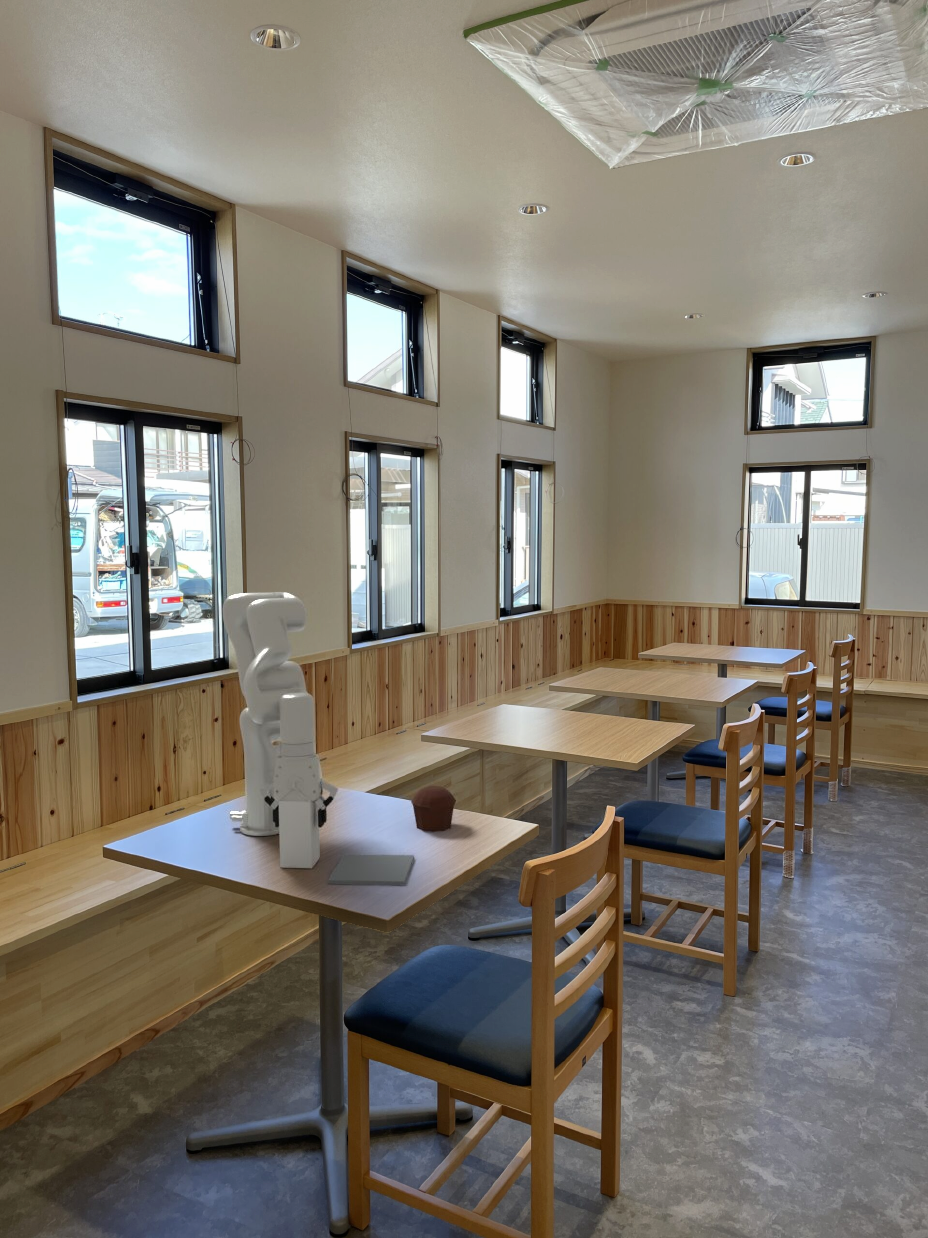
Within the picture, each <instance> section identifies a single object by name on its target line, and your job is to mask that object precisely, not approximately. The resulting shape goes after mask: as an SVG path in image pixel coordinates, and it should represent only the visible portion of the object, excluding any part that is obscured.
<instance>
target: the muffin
mask: <svg viewBox="0 0 928 1238" xmlns="http://www.w3.org/2000/svg"><path fill="white" fill-rule="evenodd" d="M410 802H411V805H412V806H413V813H414V818H415V825H416V829H417V830H420V831H422V832H430V833H436V832H437V833H438V832H445V831H447V830H450V829H451V828H452V821H453V815H454V814H453V813H454V806H455V805H456V803H457V799H456V798H455V796H454V795H453V794H452V793H451V792H450V791H449V790H448V789H447V788H445V787H444V786H441V785H427V786H425V787H423V788H421V789H419V790H418V791H417V792H416V794H415V795H414V797H413V798H412V799H411V801H410Z"/></svg>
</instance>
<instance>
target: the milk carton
mask: <svg viewBox="0 0 928 1238" xmlns="http://www.w3.org/2000/svg"><path fill="white" fill-rule="evenodd" d="M293 789H296V788H295V783H294V788H293ZM293 789H292V790H293ZM292 790H291V791H292ZM296 790H297V791H298V789H296ZM291 791H290V792H291ZM298 792H299V793H300V794H301V795H302V796H304V795H303V794H302V793H301V792H300V791H298ZM286 795H287V794H286ZM286 795H285V796H286ZM285 796H284V797H285ZM284 797H283V798H284ZM304 797H305V798H306V799H307V800H280V801H279V835H278V836H279V867H280V868H284V869H285V868H287V869H289V868H291V869H312V868H314V866H315V865H316V863H317V862H318V861H319V859H320V857H321V855H320V854H321V851H320V850H321V849H320V848H321V847H320V845H321V844H320V842H321V841H320V828H319V827H318V810H319V806H318V805H317V804H316V803H315V802H311V801H310V800H309V799H308V798H307V797H306V796H304Z"/></svg>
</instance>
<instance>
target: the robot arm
mask: <svg viewBox="0 0 928 1238" xmlns="http://www.w3.org/2000/svg"><path fill="white" fill-rule="evenodd" d="M222 620H223V624H224V627H225V630H226V633H227V636H228V637H229V639H230V642H231V643H232V646H233V649H234V652H235V657H236V666H237V672H238V678H239V686H240V689H241V690H240V691H241V693H242V695H243V697H244V698H245V699H244V700H245V703H246V704H245V705H246V707H245V708H244V709H243V710H242V711H241V713H240V715H239V728H240V734H241V738H242V745H243V746H242V747H243V755H244V756H243V757H244V758H243V759H244V783H245V784H244V785H245V786H244V787H245V788H244V790H245V791H244V792H245V794H244V795H245V810H242V811H240V812H239V811H230V814H229V819H230V820H231V822H240V823H241V824H240V825H239V831H240V832H241V833H242V834H244V835H248V836H253V837H254V836H255V837H266V836H274V835H278V834H279V801H280V800H307V799H306V798H305V797H304V796H306V797H307V798H308V799H309V800H310V801H311V802H315V803H316V804H317V805H318V806H319V810H318V827H319V829H320V828H323V826H324V825H325V823H327V822H328V821H327V820H328V818H327V817H328V816H327V807H328V806H329V805H330V804H332V802H333V801H334V800H335V797H336V795H337V794H338V791H339V788H338V787H337V786H335V785H333V784H331V783H329V782H327V781H325V780H323V773H322V766H321V762H320V761H321V760H320V757H319V754H318V753H316V735H315V734H316V732H315V728H316V727H315V725H316V724H315V699H314V696H313V695H311V694H310V693H308V691H307V687H306V680H305V676H304V673H303V669H302V667H301V666H300V665H299V664H298V662H295V661H292V660H291V661H290V660H289V659H290V658H291V655H292V651H293V650H292V646H291V643H290V642H291V641H290V638H289V635H288V633H293V632H294V633H295V632H301V631H303V630H305V628H306V627H307V624H308V623H307V622H308V613H307V609H306V607H305V605H304V602H303V601H302V600H301V599H300V598H299V597H297V596H295V595H293V594H292V593H289V592H286V591H285V592H284V591H282V592H281V591H277V592H276V591H274V592H272V591H271V592H245V593H243V592H241V593H236V594H233V595H230V596H229V597H227V598H226V599H225V600H224V602H223V605H222ZM278 741H279V743H275V744H274V742H278ZM294 783H295V788H296V789H298V791H300V792H301V793H302V794H303V795H304V796H302V795H301V794H300V793H299V792H298V791H297V790H296V789H293V788H294ZM292 789H293V790H292ZM291 790H292V791H291ZM324 790H325V791H327V792H329V795H328V796H327V798H325V797H324V796H323V795H324V793H323V792H324ZM290 791H291V792H290ZM286 794H287V795H286ZM285 795H286V796H285ZM284 796H285V797H284ZM283 797H284V798H283Z"/></svg>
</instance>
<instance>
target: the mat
mask: <svg viewBox="0 0 928 1238" xmlns="http://www.w3.org/2000/svg"><path fill="white" fill-rule="evenodd" d="M414 860H415V854H413V855H411V854H410V855H409V854H404V855H403V854H355V853H353V854H350V853H347V854H346V853H344V854H342V857H341V858H340V859H339V861H338V863H337V865H336V867H334V870H333V871H332V873H331V874H330V876H329V878H328V879H327V884H328V885H368V886H369V885H371V886H373V885H374V886H376V885H377V886H405V885H406V881H407V878H408V877H409V874H410V871H411V868H412V865H413V863H414Z"/></svg>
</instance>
